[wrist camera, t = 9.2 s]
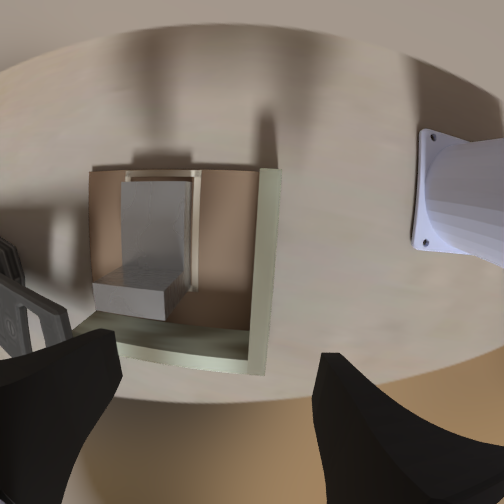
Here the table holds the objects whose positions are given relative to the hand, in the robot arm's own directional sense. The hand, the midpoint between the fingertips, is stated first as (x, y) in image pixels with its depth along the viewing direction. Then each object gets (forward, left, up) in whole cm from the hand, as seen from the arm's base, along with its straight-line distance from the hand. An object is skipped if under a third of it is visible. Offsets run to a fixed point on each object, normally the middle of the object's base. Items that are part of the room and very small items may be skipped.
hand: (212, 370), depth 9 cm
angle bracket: (+5, -3, -9) cm, 11 cm away
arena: (+4, -1, -9) cm, 10 cm away
